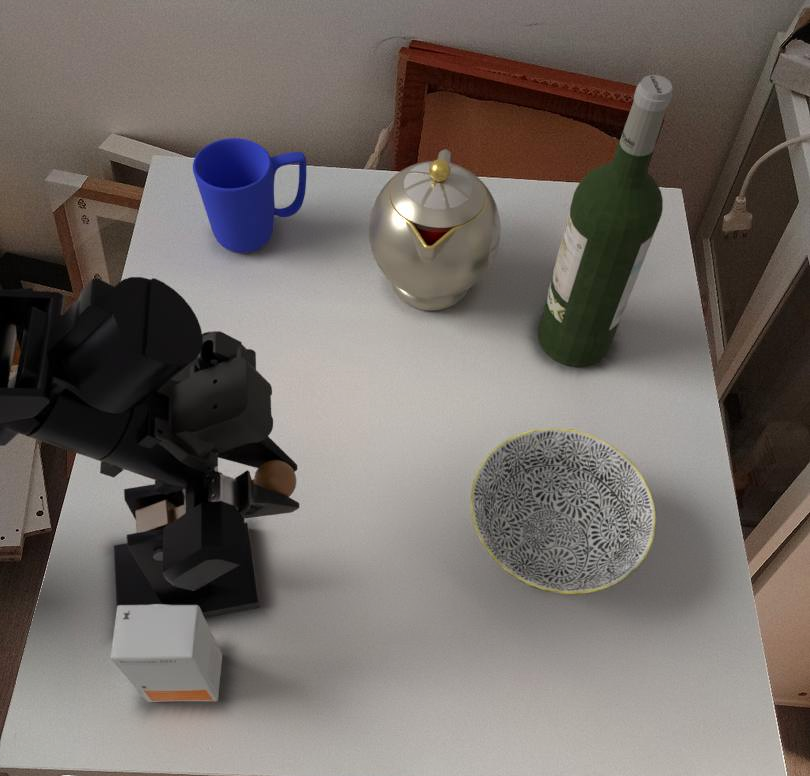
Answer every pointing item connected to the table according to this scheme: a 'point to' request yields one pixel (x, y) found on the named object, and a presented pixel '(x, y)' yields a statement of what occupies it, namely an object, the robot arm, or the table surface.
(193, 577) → the robot arm
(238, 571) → the bracket
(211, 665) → the cosmetic box
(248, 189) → the mug
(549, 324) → the wine bottle
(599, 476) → the bowl
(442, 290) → the teapot
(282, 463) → the lever
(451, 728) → the table surface
